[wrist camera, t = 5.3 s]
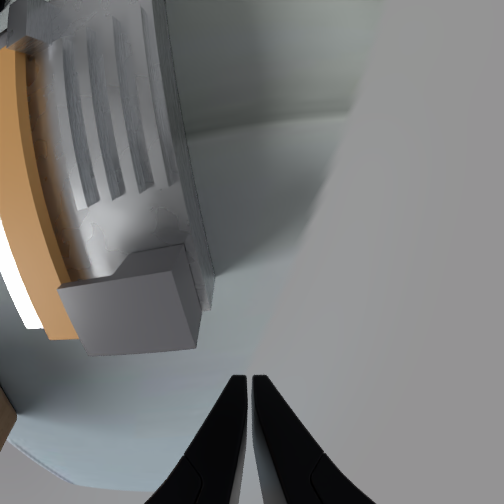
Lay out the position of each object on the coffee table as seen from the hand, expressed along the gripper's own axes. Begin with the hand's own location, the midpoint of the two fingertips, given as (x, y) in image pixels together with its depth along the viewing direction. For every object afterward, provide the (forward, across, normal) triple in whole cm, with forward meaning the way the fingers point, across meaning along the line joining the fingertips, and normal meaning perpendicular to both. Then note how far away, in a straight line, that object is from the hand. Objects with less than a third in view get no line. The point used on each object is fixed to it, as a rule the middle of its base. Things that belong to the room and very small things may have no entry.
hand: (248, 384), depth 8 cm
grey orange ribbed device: (+11, +11, -6) cm, 17 cm away
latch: (+7, +6, +1) cm, 9 cm away
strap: (+7, +12, -5) cm, 15 cm away
